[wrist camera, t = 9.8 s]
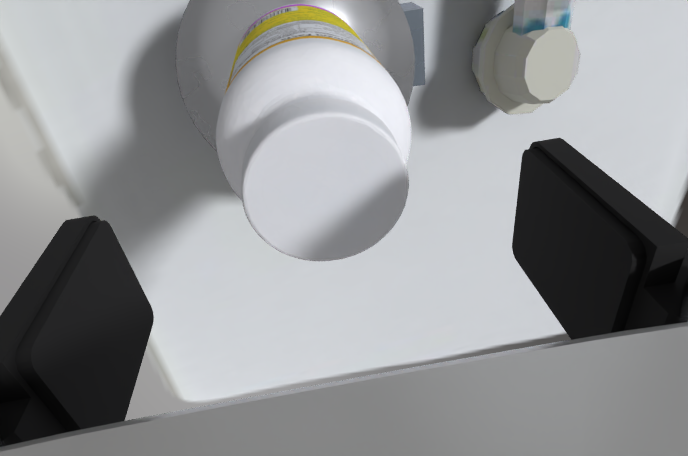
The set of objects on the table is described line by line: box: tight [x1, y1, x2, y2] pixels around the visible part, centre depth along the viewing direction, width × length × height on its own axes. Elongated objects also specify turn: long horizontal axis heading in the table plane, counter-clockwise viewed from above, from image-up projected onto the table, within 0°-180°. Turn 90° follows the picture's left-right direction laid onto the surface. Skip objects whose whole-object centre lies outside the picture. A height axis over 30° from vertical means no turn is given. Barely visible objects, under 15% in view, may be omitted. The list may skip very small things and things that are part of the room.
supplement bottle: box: [216, 4, 411, 261], centre depth 18 cm, size 7×7×13 cm
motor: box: [176, 0, 425, 151], centre depth 26 cm, size 12×13×6 cm
